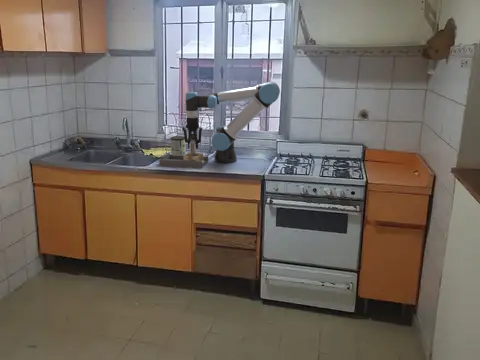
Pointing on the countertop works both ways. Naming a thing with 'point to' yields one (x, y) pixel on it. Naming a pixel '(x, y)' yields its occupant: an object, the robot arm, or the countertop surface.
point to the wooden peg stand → (193, 152)
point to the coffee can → (178, 145)
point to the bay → (181, 161)
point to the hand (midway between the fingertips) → (193, 153)
